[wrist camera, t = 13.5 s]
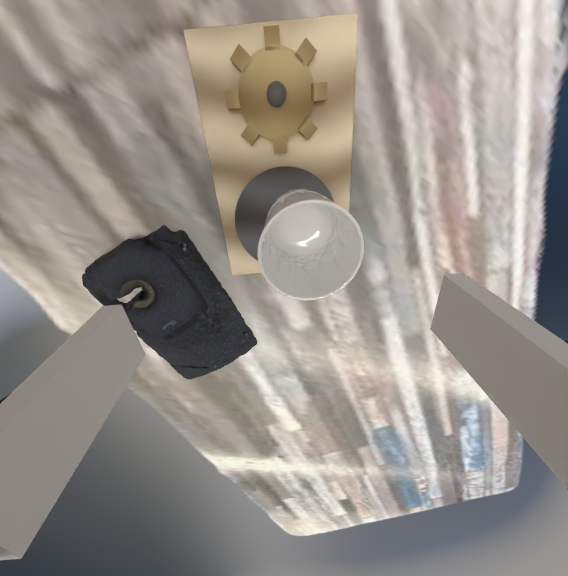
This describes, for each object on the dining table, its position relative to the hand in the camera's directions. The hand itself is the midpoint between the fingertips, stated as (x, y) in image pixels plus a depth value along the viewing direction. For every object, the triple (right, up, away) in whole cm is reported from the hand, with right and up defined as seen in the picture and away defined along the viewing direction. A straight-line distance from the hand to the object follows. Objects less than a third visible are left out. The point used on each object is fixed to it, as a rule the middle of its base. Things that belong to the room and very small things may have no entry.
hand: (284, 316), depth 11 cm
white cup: (+2, +9, +17) cm, 19 cm away
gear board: (0, +14, +16) cm, 21 cm away
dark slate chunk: (-15, -2, +25) cm, 29 cm away
